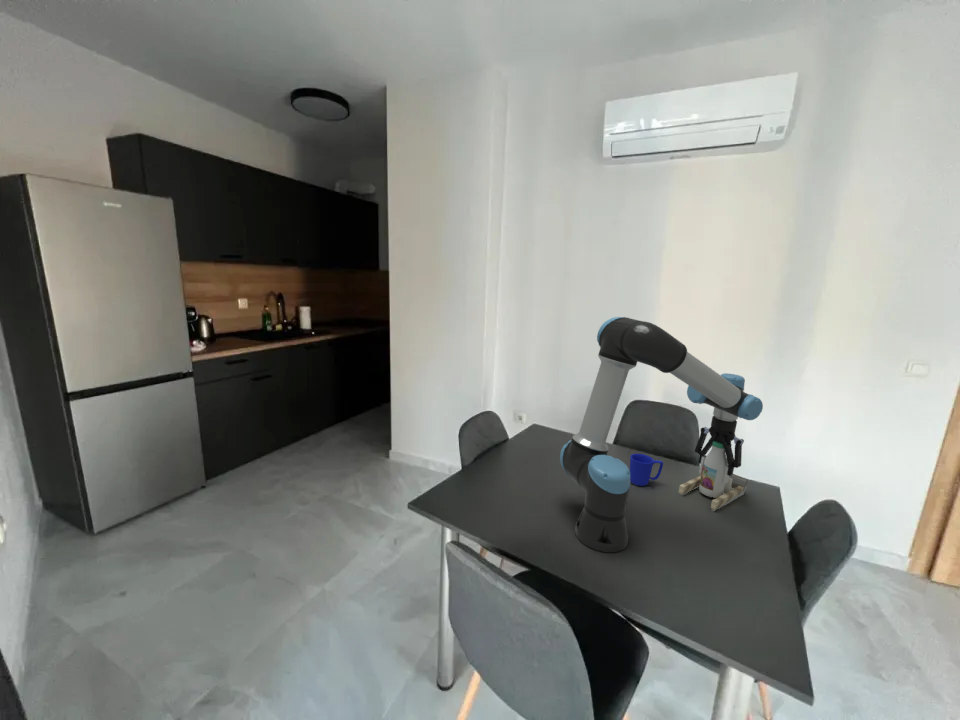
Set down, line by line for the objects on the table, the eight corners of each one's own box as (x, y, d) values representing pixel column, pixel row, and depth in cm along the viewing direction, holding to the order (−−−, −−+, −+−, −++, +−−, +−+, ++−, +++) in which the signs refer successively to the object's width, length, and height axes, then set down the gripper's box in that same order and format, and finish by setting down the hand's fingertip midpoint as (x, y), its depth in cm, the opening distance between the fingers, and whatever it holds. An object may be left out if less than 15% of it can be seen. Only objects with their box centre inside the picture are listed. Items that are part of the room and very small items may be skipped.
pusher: (727, 497, 148) (731, 479, 146) (703, 486, 155) (706, 469, 153) (732, 494, 150) (736, 476, 149) (708, 483, 157) (711, 466, 156)
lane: (714, 511, 139) (717, 495, 137) (678, 494, 149) (680, 479, 148) (744, 494, 151) (747, 479, 150) (709, 479, 162) (711, 465, 160)
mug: (663, 489, 152) (668, 464, 150) (631, 487, 152) (634, 462, 150) (655, 478, 160) (658, 454, 158) (624, 476, 160) (627, 452, 158)
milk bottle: (716, 488, 153) (726, 438, 148) (726, 499, 145) (737, 447, 141) (695, 486, 153) (704, 436, 149) (703, 497, 146) (713, 445, 142)
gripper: (762, 425, 137) (748, 487, 142) (701, 407, 153) (690, 463, 158) (752, 429, 133) (738, 493, 138) (690, 410, 149) (680, 468, 154)
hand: (713, 477), depth 148 cm, fingers closed on milk bottle, 8 cm apart
